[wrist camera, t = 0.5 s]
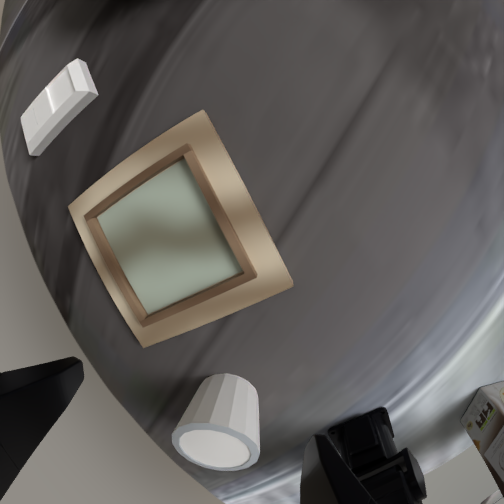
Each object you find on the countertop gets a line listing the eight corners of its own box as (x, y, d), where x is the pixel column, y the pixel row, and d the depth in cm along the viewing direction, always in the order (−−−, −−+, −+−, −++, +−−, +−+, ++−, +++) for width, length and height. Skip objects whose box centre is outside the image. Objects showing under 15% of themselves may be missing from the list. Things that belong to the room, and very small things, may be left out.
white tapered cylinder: (264, 369, 22) (259, 428, 16) (264, 420, 24) (260, 475, 17) (188, 365, 23) (161, 417, 16) (198, 415, 24) (180, 465, 18)
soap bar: (32, 122, 20) (15, 119, 17) (87, 63, 18) (72, 55, 15) (41, 156, 20) (23, 155, 18) (101, 96, 19) (84, 88, 16)
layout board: (292, 281, 20) (294, 290, 19) (147, 342, 23) (139, 352, 21) (206, 113, 18) (199, 106, 16) (74, 205, 21) (62, 207, 19)
